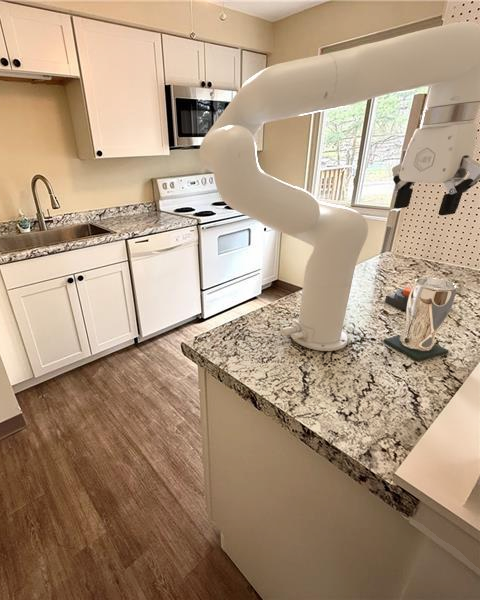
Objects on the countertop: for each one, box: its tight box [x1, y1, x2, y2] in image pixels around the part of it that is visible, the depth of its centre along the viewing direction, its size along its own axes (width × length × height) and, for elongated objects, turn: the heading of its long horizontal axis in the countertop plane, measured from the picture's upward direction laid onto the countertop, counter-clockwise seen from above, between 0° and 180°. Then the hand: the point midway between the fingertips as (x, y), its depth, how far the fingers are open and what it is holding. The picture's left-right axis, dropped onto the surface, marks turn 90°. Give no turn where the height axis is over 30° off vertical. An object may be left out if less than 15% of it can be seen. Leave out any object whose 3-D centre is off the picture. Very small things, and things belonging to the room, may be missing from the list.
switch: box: [402, 286, 413, 297], centre depth 84 cm, size 4×4×2 cm
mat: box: [383, 334, 449, 362], centre depth 70 cm, size 8×8×1 cm
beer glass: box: [399, 276, 458, 352], centre depth 66 cm, size 7×7×15 cm
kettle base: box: [384, 288, 409, 312], centre depth 86 cm, size 12×9×4 cm
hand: (422, 210), depth 65 cm, fingers open, 9 cm apart
